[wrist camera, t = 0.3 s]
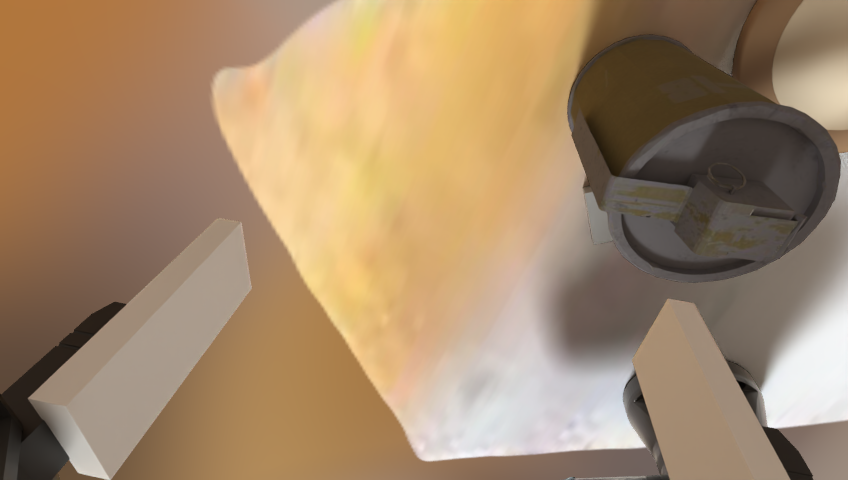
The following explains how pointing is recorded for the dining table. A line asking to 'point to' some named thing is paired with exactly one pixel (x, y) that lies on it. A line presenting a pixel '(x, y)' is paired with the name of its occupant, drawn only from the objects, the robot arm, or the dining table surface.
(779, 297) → the dining table surface
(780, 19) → the beige plate
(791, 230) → the canister
